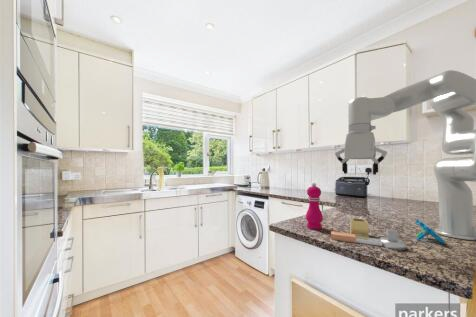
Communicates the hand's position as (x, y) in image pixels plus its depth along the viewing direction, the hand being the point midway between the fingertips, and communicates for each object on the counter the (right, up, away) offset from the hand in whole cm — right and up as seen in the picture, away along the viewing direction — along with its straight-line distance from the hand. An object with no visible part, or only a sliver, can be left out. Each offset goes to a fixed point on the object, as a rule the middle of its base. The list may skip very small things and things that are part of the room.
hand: (359, 174), depth 77 cm
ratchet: (-1, -24, -5) cm, 25 cm away
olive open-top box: (+1, -25, +3) cm, 25 cm away
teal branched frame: (+24, -25, -3) cm, 35 cm away
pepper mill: (-13, -25, +13) cm, 31 cm away
